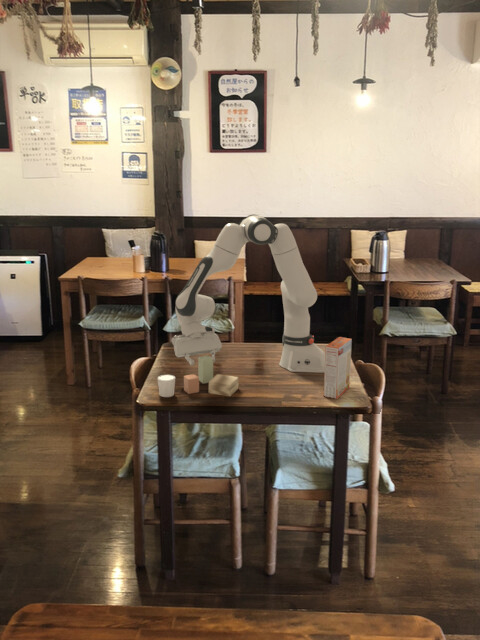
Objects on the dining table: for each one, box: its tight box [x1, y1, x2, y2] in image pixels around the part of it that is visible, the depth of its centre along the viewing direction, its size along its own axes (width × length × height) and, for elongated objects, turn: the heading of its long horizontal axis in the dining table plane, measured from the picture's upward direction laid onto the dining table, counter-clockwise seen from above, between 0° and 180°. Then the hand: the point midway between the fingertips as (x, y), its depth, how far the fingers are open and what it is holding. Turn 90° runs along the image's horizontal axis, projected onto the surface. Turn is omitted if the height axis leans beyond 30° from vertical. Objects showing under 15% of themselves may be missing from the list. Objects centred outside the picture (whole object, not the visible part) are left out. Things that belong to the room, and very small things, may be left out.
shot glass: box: [157, 374, 176, 398], centre depth 238 cm, size 7×7×7 cm
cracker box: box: [323, 336, 353, 400], centre depth 240 cm, size 14×6×21 cm, turn 150°
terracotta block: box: [183, 373, 200, 395], centre depth 242 cm, size 4×4×6 cm
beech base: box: [208, 373, 239, 397], centre depth 243 cm, size 9×9×5 cm
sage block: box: [197, 355, 214, 384], centre depth 252 cm, size 4×4×10 cm
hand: (203, 362), depth 253 cm, fingers open, 8 cm apart
